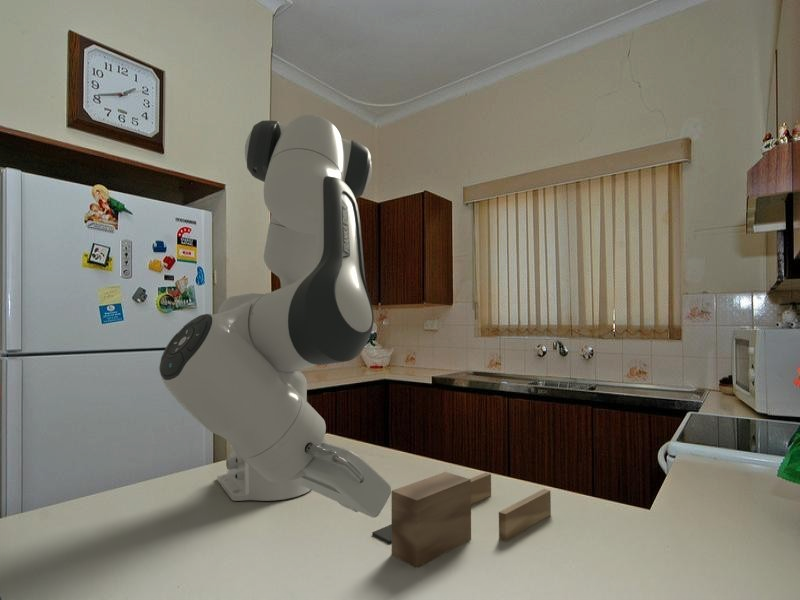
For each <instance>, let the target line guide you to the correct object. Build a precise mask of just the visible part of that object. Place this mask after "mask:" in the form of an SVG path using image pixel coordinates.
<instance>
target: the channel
mask: <svg viewBox="0 0 800 600" xmlns="http://www.w3.org/2000/svg"><path fill="white" fill-rule="evenodd" d="M470 479H471V505H473V504H475V503H478V502H480V501H482V500H484V499H487V498H488V497H491V496H492V473H488V472H483V473H481V474H478V475H476V476H473V477H471V478H470ZM551 504H552V502H551V490H550V489H546V488H543V489H541V490H539V491H537V492H534V493H533V494H530V495H529V496H527V497H525V498H523V499H521V500H519V501H517V502H515V503H513V504H511V505H510V506H508V507H506V508H504V509H502V510H500V511H498V540H501V541H504V542H507V541H509V540H510V539H512V538H514V537H516V536H517V535H519V534H520V533H522V532H524V531H526V530H527V529H529V528H531V527H532V526H534V525H535V524H537V523H539V522H541V521H542V520H544V519H545V518H547V517H549V516H550V515H552V508H551V507H552V505H551Z"/></svg>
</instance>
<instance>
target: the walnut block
mask: <svg viewBox="0 0 800 600" xmlns="http://www.w3.org/2000/svg"><path fill="white" fill-rule="evenodd" d="M391 524H392V543H391V556H392V557H394V558H397V559H399V560H400V561H402V562H404V563H406V564H408V565H410V566H412V567H414V568H415V569H419V568H421V567H422V566H424V565H426V564H428V563H430V562H432V561H434V560H435V559H437V558H439V557H441V556H443V555H444V554H446V553H447V552H449V551H452V550H453V549H455V548H457V547H459V546H460V545H463V544H465V543H466V542H468V541H471V540H472V504H471V478H468V477H465V476H461V475H457V474H453V473H451V472H447V471H444V472H441V473H439V474H436V475H433V476H429V477H427V478H425V479H421V480H418V481H415V482H412V483H410V484H407V485H404V486H402V487H398V488H396V489H391Z"/></svg>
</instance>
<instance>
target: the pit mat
mask: <svg viewBox="0 0 800 600" xmlns="http://www.w3.org/2000/svg"><path fill="white" fill-rule="evenodd" d="M371 533H372V536H373V537H375V538H377V539H380V540H382V541H384V542H385V543H388V544H389V545H390V544H392V523H391V524H389V525H387V526H384V527H382V528H380V529H377V530H374V531H372V532H371Z"/></svg>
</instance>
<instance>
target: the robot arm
mask: <svg viewBox="0 0 800 600" xmlns="http://www.w3.org/2000/svg"><path fill="white" fill-rule="evenodd" d="M244 157H245V162H246V169H247V171H249V173H250V175H251V176H252V177H253V178H255V179H256V180H259V181H261V182H263V183H264V184H263V201H264V204H265V206H266V209H267V210H268V212H269V213H270V218H269V219H270V220H269V224H268V229H267V233H266V241H265V246H264V251H263V260H264V264H265V266H266V267H267V269H268V270H270V272H271V273H273V274H274V275H275V276H276V277H278V279H279V282H280V288H278V289H275V290H273V291H271V292H267V293H255V292H254V293H253V292H252V293H244V294H239V295H232V296H229V297H228V298H226V299H225V300H224V301H223V302H222V304H220V307H219V308H218V310H217V313H214V314H211V313H206V314H205V313H204V314H200V315H198V316H196V317H194V318H193V319H192V320H190V321H188V322H187V323H186V324H185V325H183V327H182V328H181V329H179V331H178V332H176V333H175V335H173V337H172V338H171V339H170V341H169V343H168V344H167V345H166V347H165V349H164V351H163V353H162V355H161V358H160V362H159V367H158V368H159V374H160V377H161V379H162V381H163V384H164V385H165V387H166V389H167V390H168V391H169V392H170V394H171V395H172V396H173V397H174V398H175V399H176V401H177V402H178V403H179V405H181V406H182V407H183V408H184V410H186V411H187V413H188V414H190V415H191V416H192V417H193V418H194V419H195V420H197V421H198V422H199V424H201V425H202V426H203V427H204V428H205V429H207V431H209V433H210V432H211V433H213V434H215V435H218V436H220V437H222V438H223V439H225V441H227V442H228V444H229V445H230V446H231V447H230V448H231V451H230V452H229V453H230V454H229V457H227V458H226V460H225V463H226V464H225V466H226V469H227V470H225V471H223V472H221V473H219V474H217V477H216V481H217V482H218V484H220V485H221V487H222V489H223V490H224V491H225V492H226V494H227V495H228V497H229V498H230V499H231V500H232V501H235V502H238V501H239V502H240V501H259V502H260V501H264V502H267V501H268V502H269V501H280V500H281V501H283V500H287V499H292V498H293V499H294V498H296V497H299V496H301V495H304V494H306V493H307V494H308V492H310V491H313V492H315V493H317V494H318V495H319V494H320V495H321V496H324V497H326V498H329V499H330V500H333V501H335V502H337V503H338V504H339V505H340V506H341V507H344V508H346V509H347V510H348V509H349V510H351V511H353V512H355V513H358V512H359V513H361V514H364V515H366V516H368V517H370V518H377V517H378V516H379V515H380V513H381V512H382V510H383V509H384V507H385V505H386V503H388V499H389V498H390V497H391V496H390V495H392V486H391V485H390V482H388V481H387V480H386V479H385V478H384V477H383V476H382V475H381V474H379V473H378V471H377V470H375V468H374V467H372V466H371V465H370V463H368V462H367V461H366V460H365V459H363V458H361V457H360V456H359V455H358V454H356V453H355V452H353V451H351V450H350V449H348V448H345V447H341V446H339V445H335V444H332V443H329V442H326V441H327V440H326V437H325V436H326V432H327V431H326V430H327V426H326V421H325V419H324V418H323V417H322V416H321V415H320V414H319V413H318V411H316V409H315V408H314V407H312V405H311V404H310V403H309V402H308V397H307V396H308V395H307V394H308V393H307V392H308V391H307V390H308V381H307V379H306V376H305V375H304V373H303V372H301V371H302V370H305V369H309V368H312V367H317V366H325V365H330V364H339V363H344V362H350V361H351V360H354V359H355V358H357V357H358V356H359V355H360V354H361V353H362V352H363V350H364V349H365V347H366V345H367V343H368V341H369V339H370V337H371V335H372V331H373V328H374V321H375V320H374V308H373V303H372V301H371V296H370V293H369V291H368V290H369V289H368V286H367V282H366V274H365V272H366V271H365V262H364V252H363V251H364V249H363V237H362V228H361V227H362V226H361V218H360V211H359V206H358V203H357V199H359V198H360V197H362V195H363V194H364V192H365V190H366V189H367V188H368V186H369V184H370V181H371V179H372V173H373V164H372V160H371V159H372V155H371V152H370V151H369V148H368V147H366V146H365V145H363V144H361V143H359V142H357V141H355V140H351V141H350V140H348V139H345V138H343V137H342V136H341V133H340V132H339V129H337V127H336V126H335V125H334V124H333V123H332V121H330V120H328V119H327V118H325V117H323V116H320V115H318V114H303V115H299V116H297V117H295V118H293V119H292V120H291V121H290V122H288V124H285V123H280V122H279V121H278V120H261V121H259V122H257V123H255V124H254V125H253V126H252V128H251V131H250V132H249V134H248V135H247V138H246V140H245V145H244Z"/></svg>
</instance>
